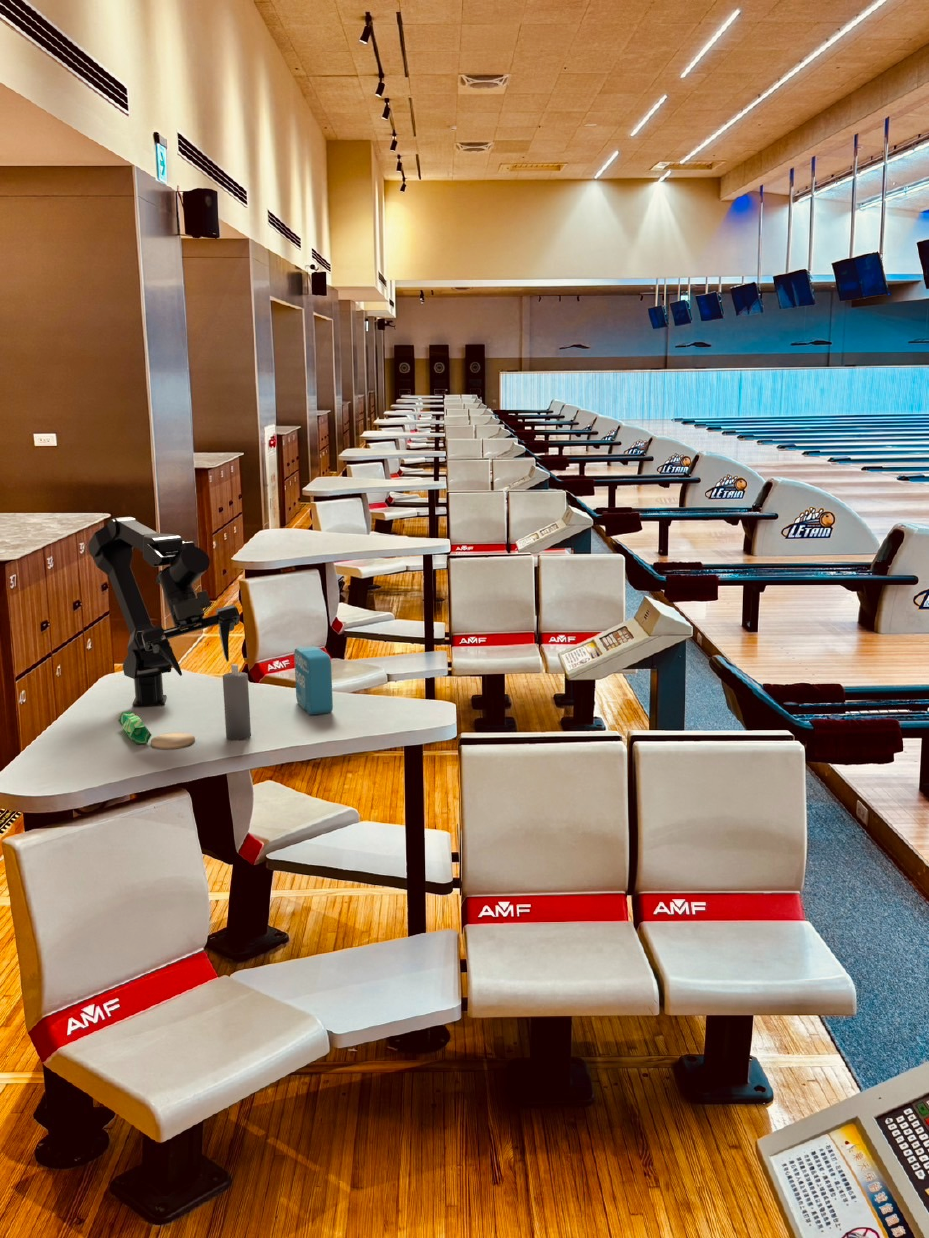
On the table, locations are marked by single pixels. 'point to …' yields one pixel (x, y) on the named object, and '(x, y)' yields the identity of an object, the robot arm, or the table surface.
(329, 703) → the data package
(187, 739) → the cork coaster
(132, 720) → the candy
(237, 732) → the charcoal plug
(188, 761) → the table surface
